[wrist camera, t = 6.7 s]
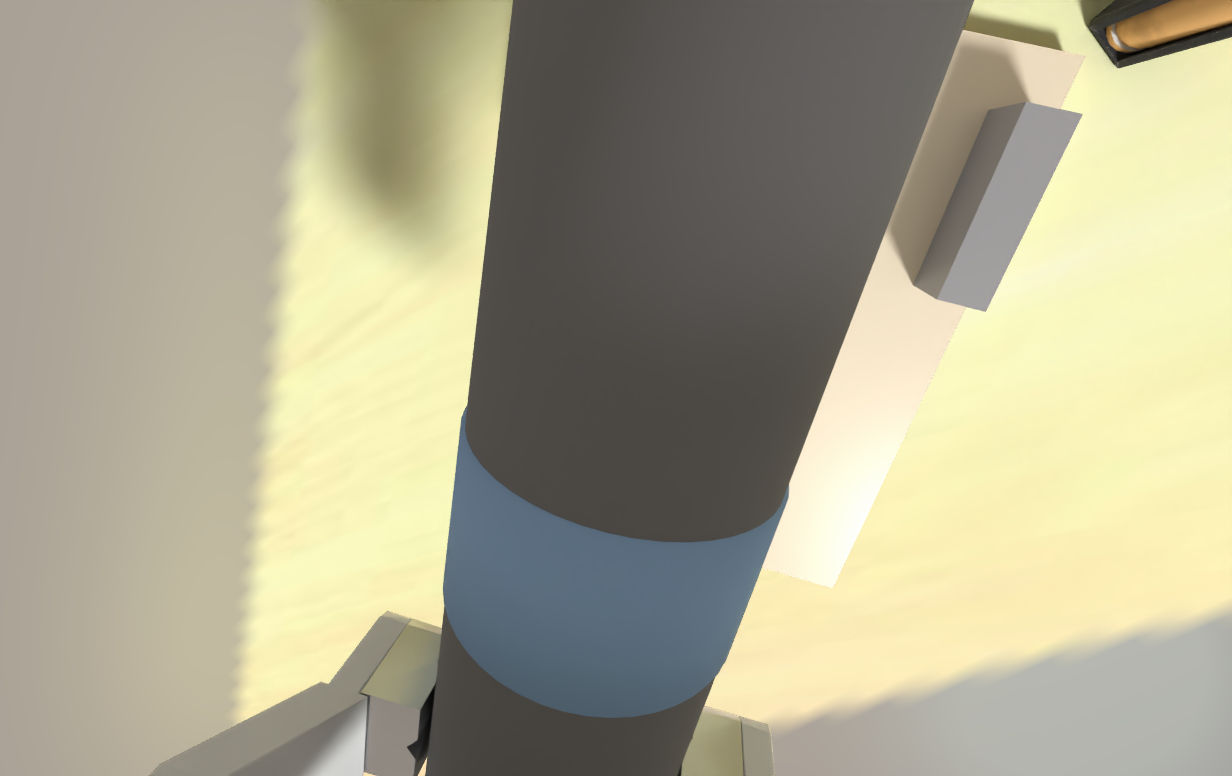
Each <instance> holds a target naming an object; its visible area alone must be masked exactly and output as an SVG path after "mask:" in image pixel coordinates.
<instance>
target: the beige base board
mask: <svg viewBox="0 0 1232 776" xmlns="http://www.w3.org/2000/svg"><path fill="white" fill-rule="evenodd" d="M1084 58H1085V56H1083V55H1079V54H1074V53H1069V52H1065V51H1060V50H1055V49H1051V48H1046V47H1041V46H1037V45H1032V44H1027V43H1023V42H1018V41H1013V40H1009V39H1004V38H999V37H995V36H990V35H985V34H981V33H976V32H971V31H967V30H963V31H962V33H961V36H960V38H959V41H958V44H957V46H956V49H955V52H954V54H953V57H952V59H951V62H950V65H949V67H948V70H947V72H946V75H945V78H944V80H943V83H942V86H941V88H940V91H939V93H938V96H937V99H936V101H935V104H934V106H933V109H932V112H931V114H930V117H929V119H928V122H927V125H926V127H925V130H924V133H923V135H922V138H921V140H920V143H919V146H918V148H917V151H916V153H915V156H914V159H913V161H912V164H911V167H910V169H909V172H908V174H907V177H906V180H905V182H904V185H903V187H902V190H901V193H900V195H899V198H898V200H897V203H896V206H895V208H894V211H893V214H892V216H891V219H890V221H889V224H888V227H887V229H886V232H885V234H884V237H883V240H882V242H881V245H880V248H879V250H878V253H877V255H876V258H875V261H874V263H873V266H872V268H871V271H870V274H869V276H868V279H867V282H866V284H865V287H864V289H863V292H862V295H861V297H860V300H859V302H858V305H857V308H856V310H855V313H854V315H853V318H852V321H851V323H850V326H849V329H848V331H847V334H846V336H845V339H844V342H843V344H842V347H841V349H840V352H839V355H838V357H837V360H836V363H835V365H834V368H833V370H832V373H831V376H830V378H829V381H828V383H827V386H826V389H825V391H824V394H823V396H822V399H821V402H820V404H819V407H818V410H817V412H816V415H815V417H814V420H813V423H812V425H811V428H810V430H809V433H808V436H807V438H806V441H805V444H804V446H803V449H802V451H801V454H800V457H799V459H798V462H797V464H796V467H795V470H794V472H793V475H792V477H791V480H790V483H789V498H788V501H787V503H786V506H785V509H784V511H783V514H782V517H781V519H780V522H779V524H778V527H777V530H776V532H775V535H774V537H773V540H772V542H771V545H770V548H769V550H768V553H767V555H766V558H765V561H764V563H763V566H762V568H764V569H768V570H771V571H775V572H778V573H782V574H785V575H788V576H792V577H795V578H799V579H802V580H806V581H809V582H813V583H816V584H820V585H823V586H827V587H830V588H833V586H834V584H835V582H836V580H837V578H838V576H839V574H840V572H841V569H842V567H843V565H844V563H845V561H846V559H847V557H848V555H849V553H850V551H851V548H852V546H853V544H854V542H855V540H856V538H857V536H858V534H859V532H860V529H861V527H862V525H863V523H864V521H865V519H866V517H867V515H868V513H869V511H870V508H871V506H872V504H873V502H874V500H875V498H876V496H877V494H878V492H879V489H880V487H881V485H882V483H883V481H884V479H885V477H886V475H887V473H888V471H889V468H890V466H891V464H892V462H893V460H894V458H895V456H896V454H897V452H898V450H899V447H900V445H901V443H902V441H903V439H904V437H905V435H906V433H907V431H908V428H909V426H910V424H911V422H912V420H913V418H914V416H915V414H916V412H917V410H918V407H919V405H920V403H921V401H922V399H923V397H924V395H925V393H926V391H927V388H928V386H929V384H930V382H931V380H932V378H933V376H934V374H935V372H936V370H937V367H938V365H939V363H940V361H941V359H942V357H943V355H944V353H945V351H946V349H947V346H948V344H949V342H950V340H951V338H952V336H953V334H954V332H955V330H956V327H957V325H958V323H959V321H960V319H961V317H962V315H963V313H964V311H965V309H966V307H969V308H973V309H977V310H981V311H985V312H986V310H987V308H988V306H989V304H990V302H991V300H992V298H993V296H994V294H995V292H996V290H997V288H998V286H999V284H1000V282H1001V280H1002V277H1003V275H1004V273H1005V271H1006V269H1007V267H1008V265H1009V263H1010V261H1011V259H1012V257H1013V255H1014V253H1015V251H1016V249H1017V247H1018V245H1019V243H1020V241H1021V239H1022V237H1023V235H1024V233H1025V231H1026V229H1027V227H1028V225H1029V222H1030V220H1031V218H1032V216H1033V214H1034V212H1035V210H1036V208H1037V206H1038V204H1039V202H1040V200H1041V198H1042V196H1043V194H1044V192H1045V190H1046V188H1047V186H1048V184H1049V182H1050V180H1051V178H1052V176H1053V174H1054V172H1055V169H1056V167H1057V165H1058V163H1059V161H1060V159H1061V157H1062V155H1063V153H1064V151H1065V149H1066V147H1067V145H1068V143H1069V141H1070V139H1071V137H1072V135H1073V133H1074V131H1075V129H1076V127H1077V125H1078V123H1079V121H1080V119H1081V117H1082V114H1080V113H1075V112H1071V111H1066V110H1061V106H1062V104H1063V102H1064V100H1065V98H1066V96H1067V94H1068V92H1069V90H1070V88H1071V85H1072V83H1073V81H1074V79H1075V77H1076V75H1077V73H1078V71H1079V69H1080V67H1081V64H1082V62H1083V60H1084Z"/></svg>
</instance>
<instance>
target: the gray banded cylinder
mask: <svg viewBox="0 0 1232 776" xmlns="http://www.w3.org/2000/svg"><path fill="white" fill-rule="evenodd" d="M973 2H974V0H513V7H512V16H511V25H510V33H509V42H508V51H507V60H506V69H505V78H504V86H503V95H502V104H501V113H500V122H499V130H498V139H497V148H496V157H495V166H494V175H493V183H492V192H491V201H490V210H489V219H488V227H487V236H486V245H485V254H484V263H483V272H482V280H481V289H480V298H479V307H478V316H477V324H476V333H475V342H474V351H473V360H472V368H471V377H470V386H469V395H468V404H467V407H466V408H465V410H464V413H463V416H462V418H461V427H460V436H459V445H458V454H457V464H456V473H455V482H454V491H453V500H452V509H451V518H450V527H449V536H448V545H447V554H446V564H445V573H444V583H443V595H444V605H445V607H444V615H443V624H442V633H441V642H440V651H439V659H438V668H437V677H436V686H435V695H434V703H433V712H432V721H431V730H430V739H429V748H428V756H427V765H426V774H425V776H677V775H678V773H679V770H680V768H681V765H682V762H683V760H684V757H685V754H686V752H687V749H688V747H689V744H690V741H691V739H692V736H693V734H694V731H695V728H696V726H697V723H698V721H699V718H700V715H701V713H702V710H703V707H704V705H705V702H706V700H707V697H708V694H709V692H710V689H711V687H712V684H713V681H714V679H715V676H716V675H717V674H718V673H719V671H720V669H721V668H722V666H723V664H724V663H725V661H726V659H727V656H728V654H729V651H730V648H731V646H732V643H733V641H734V638H735V636H736V633H737V630H738V628H739V625H740V623H741V620H742V617H743V615H744V612H745V610H746V607H747V605H748V602H749V599H750V597H751V594H752V592H753V589H754V586H755V584H756V581H757V579H758V576H759V573H760V571H761V568H762V566H763V563H764V561H765V558H766V555H767V553H768V550H769V548H770V545H771V542H772V540H773V537H774V535H775V532H776V530H777V527H778V524H779V522H780V519H781V517H782V514H783V511H784V509H785V506H786V503H787V501H788V498H789V483H790V480H791V477H792V475H793V472H794V470H795V467H796V464H797V462H798V459H799V457H800V454H801V451H802V449H803V446H804V444H805V441H806V438H807V436H808V433H809V430H810V428H811V425H812V423H813V420H814V417H815V415H816V412H817V410H818V407H819V404H820V402H821V399H822V396H823V394H824V391H825V389H826V386H827V383H828V381H829V378H830V376H831V373H832V370H833V368H834V365H835V363H836V360H837V357H838V355H839V352H840V349H841V347H842V344H843V342H844V339H845V336H846V334H847V331H848V329H849V326H850V323H851V321H852V318H853V315H854V313H855V310H856V308H857V305H858V302H859V300H860V297H861V295H862V292H863V289H864V287H865V284H866V282H867V279H868V276H869V274H870V271H871V268H872V266H873V263H874V261H875V258H876V255H877V253H878V250H879V248H880V245H881V242H882V240H883V237H884V234H885V232H886V229H887V227H888V224H889V221H890V219H891V216H892V214H893V211H894V208H895V206H896V203H897V200H898V198H899V195H900V193H901V190H902V187H903V185H904V182H905V180H906V177H907V174H908V172H909V169H910V167H911V164H912V161H913V159H914V156H915V153H916V151H917V148H918V146H919V143H920V140H921V138H922V135H923V133H924V130H925V127H926V125H927V122H928V119H929V117H930V114H931V112H932V109H933V106H934V104H935V101H936V99H937V96H938V93H939V91H940V88H941V86H942V83H943V80H944V78H945V75H946V72H947V70H948V67H949V65H950V62H951V59H952V57H953V54H954V52H955V49H956V46H957V44H958V41H959V38H960V36H961V33H962V31H963V28H964V25H965V23H966V20H967V18H968V15H969V12H970V10H971V7H972V5H973Z"/></svg>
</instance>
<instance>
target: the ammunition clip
mask: <svg viewBox="0 0 1232 776" xmlns="http://www.w3.org/2000/svg"><path fill="white" fill-rule="evenodd" d="M1089 28H1090V30H1091V31H1092V33H1093V34H1094V36H1095V37H1096V38H1097V40H1098V41H1099V43H1100V44H1101V45H1102V47H1103V48H1104V50H1105V51H1106V53H1107V54H1108V55H1109V57H1110V58H1111V60H1112V61H1113V62H1114V64H1115V65H1116V67H1117V68H1122V67H1125V66H1129V65H1133V64H1136V63H1140V62H1143V61H1147V60H1151V59H1154V58H1158V57H1162V56H1165V55H1169V54H1172V53H1176V52H1180V51H1183V50H1187V49H1190V48H1194V47H1198V46H1201V45H1205V44H1208V43H1212V42H1216V41H1219V40H1223V39H1227V38H1230V37H1232V0H1115V1H1114V2H1113V3H1112V4H1110V5H1109V6H1108V7H1107V8H1106V9H1104V10H1103V11H1102V12H1101V13H1100V14H1099V15H1097V16H1096V17H1095V18H1094V19H1093V20H1091V23H1090V25H1089Z"/></svg>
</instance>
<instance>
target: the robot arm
mask: <svg viewBox="0 0 1232 776" xmlns="http://www.w3.org/2000/svg"><path fill="white" fill-rule="evenodd" d="M441 633H442V628H440V627H437V626H434V625H430V624H427V623H424V622H421V621H418V620H415V619H411V618H408V617H405V616H402V615H399V614H396V613H392V612H389V611H387V612H386V613H384V614H383V615H382V616H380V617H379V618H378V620H377V621H376V622H375V624H374V625H373V626H372V628H371V629H370V630H369V632H368V633H367V634H366V636H365V637H364V638H363V639H362V641H361V642H360V643H359V645H358V646H357V647H356V649H355V650H354V651H353V653H352V654H351V655H350V657H349V658H348V659H347V661H346V662H345V663H344V665H343V666H342V667H341V668H340V670H339V671H338V672H337V674H336V675H335V676H334V678H333V679H332V680H331V682H330V683H329V684H327V683H323V682H319V683H317V684H315V685H313V686H311V687H310V688H308V689H306V690H304V691H302V692H300V693H298V694H296V695H294V696H292V697H290V698H288V699H286V700H284V701H282V702H280V703H278V704H276V705H274V706H272V707H270V708H268V709H266V710H265V711H263V712H261V713H259V714H257V715H255V716H253V717H251V718H249V719H247V720H245V721H243V722H241V723H239V724H237V725H235V726H233V727H231V728H229V729H227V730H225V731H224V732H222V733H220V734H218V735H216V736H214V737H212V738H210V739H208V740H206V741H204V742H202V743H200V744H198V745H196V746H194V747H192V748H190V749H188V750H186V751H184V752H182V753H180V754H179V755H177V756H175V757H173V758H171V759H169V760H167V761H165V762H163V763H161V764H160V765H159V766H158V767H157V768H156V769H155V770H154V771H153V772H152V773H151V774H150V775H149V776H363V773H364V772H366V773H369V774H373V775H376V776H418V774H419V772H420V770H421V768H422V766H423V764H424V762H425V760H426V758H427V756H428V748H429V739H430V730H431V721H432V712H433V703H434V695H435V686H436V677H437V668H438V659H439V651H440V642H441ZM677 776H775V767H774V757H773V747H772V738H771V730H770V728H769V726H768V724H764V723H761V722H758V721H754V720H751V719H747V718H744V717H741V716H739V717H738V716H737V715H735V714H732V713H728V712H725V711H721V710H718V709H714V708H711V707H707V706H704V707H703V710H702V713H701V715H700V718H699V721H698V723H697V726H696V728H695V731H694V734H693V736H692V739H691V741H690V744H689V747H688V749H687V752H686V754H685V757H684V760H683V762H682V765H681V768H680V770H679V773H678V775H677Z"/></svg>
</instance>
